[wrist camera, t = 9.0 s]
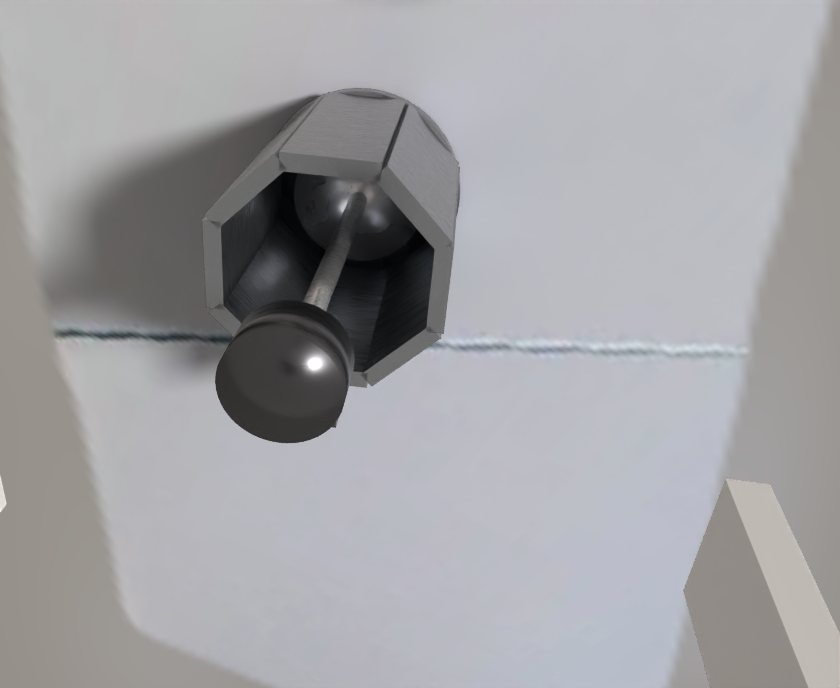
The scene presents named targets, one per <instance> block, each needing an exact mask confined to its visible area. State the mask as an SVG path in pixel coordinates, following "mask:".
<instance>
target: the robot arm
mask: <svg viewBox="0 0 840 688" xmlns="http://www.w3.org/2000/svg"><path fill="white" fill-rule="evenodd" d="M5 505H6V499H5V495H4V490H3V486H2V481H1V476H0V512H1V511H2V509H3V508H4V507H5ZM683 591H684V595H685V598H686V602H687V606H688V609H689V613H690V616H691V620H692V624H693V627H694V631H695V635H696V638H697V642H698V645H699V649H700V653H701V656H702V660H703V664H704V667H705V671H706V675H707V678H708V681H709V685H710V688H840V634H839V632H838V629H837V627H836V625H835V623H834V621H833V619H832V617H831V614H830V613H829V610H828V608H827V606H826V604H825V602H824V599H823V597H822V595H821V593H820V591H819V589H818V587H817V584H816V582H815V580H814V578H813V576H812V574H811V572H810V570H809V568H808V565H807V563H806V561H805V559H804V557H803V555H802V552H801V550H800V548H799V546H798V544H797V542H796V540H795V537H794V536H793V533H792V531H791V529H790V527H789V525H788V523H787V521H786V518H785V516H784V514H783V512H782V510H781V508H780V505H779V503H778V501H777V499H776V497H775V495H774V493H773V490H772V488H771V486H770V484H762V483H754V482H746V481H738V480H730V479H725V482H724V484H723V487H722V490H721V492H720V495H719V498H718V500H717V503H716V506H715V508H714V511H713V514H712V516H711V519H710V521H709V524H708V527H707V529H706V532H705V535H704V537H703V540H702V543H701V545H700V548H699V551H698V553H697V556H696V559H695V561H694V564H693V567H692V569H691V572H690V574H689V577H688V580H687V582H686V585H685V588H684V590H683Z"/></svg>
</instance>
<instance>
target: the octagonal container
mask: <svg viewBox="0 0 840 688" xmlns="http://www.w3.org/2000/svg"><path fill="white" fill-rule="evenodd" d="M458 164H459V162H458V161H457V160H456V158H455V156H454V153H453V150H452V148H451V146H450V144H449V142H448V140H447V138H446V137H445V135H444V134H443V132H442V131H441V129H440V128H439V127H438V125H437V124H436V123H435V122H434V121H433V120H432V119H431V118H430V117H429V116H428V115H427V114H426V113H425V112H423V111H422V110H421V109H420V108H418V107H417V106H415V105H414V104H412V103H411V102H409V101H407V100H405V99H403V98H401V97H399V96H397V95H394V94H391V93H388V92H385V91H380V90H375V89H367V88H352V89H343V90H338V91H334V92H328V93H327V94H323V95H321V96H320V97H318V98H316V99H314V100H313V101H311V102H309V103H307V104H306V105H305V106H303V107H302V108H301V109H300V110H298V111H297V112H296V113H295V114H294V115H293V116H292V117H291V118H290V119H289V120H288V122H287V123H286V124H285V125H284V126H283V128H282V129H281V131H280V132H279V133H278V135H277V136H276V137H275V138H274V139H272V140H271V141H270V142H269V143H268V144H267V145H266V147H265V148H264V149H263V150H262V151H261V152H260V153H259V154H258V155H257V157H256V158H255V159H254V160H253V161H252V162H251V163H250V164H249V165H248V167H247V168H246V169H245V170H244V171H243V172H242V173H241V174H240V175H239V177H238V178H237V179H236V180H235V181H234V182H233V183H232V184H231V185H230V187H229V188H228V189H227V190H226V191H225V192H224V193H223V194H222V195H221V197H220V198H219V199H218V200H217V201H216V202H215V203H214V204H213V205H212V207H211V208H210V209H209V210H208V211H207V212H206V213H205V214H204V215H205V217H204V218H203V219H202V229H203V250H204V272H205V294H206V308H211V309H210V311H209V312H208V313H209V314H210V315H211V316H213V317H214V318H215V319H216V320H217V321H218V322H219V323H220V324H221V325H222V326H223V327H224V328H225V329H226V330H227V331H228V332H229V333H230V334H231V335H232V336H233V337H234V335H235V334H236V332H237V330H238V328H239V327H240V325H241V323H242V322H243V320H244V319H245V318H246V317H247V316H248V315H249V314H250V313H251V312H252V311H254V310H255V309H257V308H258V307H260V306H262V305H264V304H267V303H270V302H275V301H280V300H296V301H302V302H303V301H304V298H305V296H306V294H307V292H308V290H309V287H310V285H311V283H312V281H313V278H314V276H315V274H316V272H317V269H318V267H319V265H320V263H321V261H322V258H323V256H324V254H325V252H326V250H325V249H323V248H322V247H321V246H319V245H318V244H317V243H316V242H315V241H314V240H313V239H312V238H311V237H310V236H309V235H308V233H307V232H306V231H305V229H304V227H303V226H302V224H301V222H300V220H299V218H298V215H297V212H296V208H295V202H294V188H295V182H296V177H297V175H298V173H303V174H313V175H322V176H331V177H340V178H350V179H359V180H368V181H376V182H377V183H378V184H379V186H380V187H381V188H382V189H383V190H384V191H385V192H386V194H387V195H388V196H389V197H390V198H391V199H392V201H393V202H394V203H395V204H396V205H397V206H398V208H399V209H400V210H401V211H402V212H403V213H404V214H405V216H406V217H407V218H408V219H409V220H410V221H411V223H412V224H413V225H414V226H415V227H416V228H417V229H416V231H415V232H414V234H413V235H412V237H411V238H410V239H409V240H408V241H407V243H406V244H404V245H403V246H402V247H401V248H400V249H398V250H397V251H395V252H394V253H392V254H390V255H388V256H385V257H382V258H379V259H375V260H367V261H357V260H350V259H346V260H345V262H344V265H343V268H342V270H341V273H340V276H339V278H338V281H337V283H336V286H335V289H334V291H333V294H332V297H331V299H330V302H329V304H328V307H327V310H326V312H328V313H329V314H331V315H332V316H333V317H334V318H335V319H336V320H338V321H339V322H340V324H341V325H342V326H343V327H344V329H345V330H346V332H347V333H348V335H349V337H350V339H351V342H352V345H353V348H354V354H355V363H354V369H353V373H352V376H351V380H350V384H349V386H356V387H365V388H367V384H368V383H369V384H370V385H371V386H373V385H375V384H376V383H377V382H379V381H380V380H382V379H383V378H385V377H386V376H387V375H389V374H390V373H392V372H393V371H395V370H396V369H397V368H399V367H400V366H402V365H403V364H405V363H406V362H408V361H409V360H410V359H412V358H413V357H415V356H416V355H418V354H419V353H420V352H422V351H423V350H425V349H426V348H428V347H429V346H431V345H432V344H433V343H435V342H436V341H438V340H439V339H441V334H444V326H445V318H446V309H447V301H448V293H449V284H450V276H451V267H452V259H453V251H454V239H455V226H456V216H457V212H458V207H459V198H460V178H459V171H460V167H458ZM337 421H338V419H337ZM337 421H336V422H335V423H334V424H333V426H332V427H335V428H336V425H337Z"/></svg>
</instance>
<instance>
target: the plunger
mask: <svg viewBox="0 0 840 688" xmlns="http://www.w3.org/2000/svg"><path fill="white" fill-rule="evenodd" d="M294 202H295V208H296V212H297V215H298V218H299V220H300V222H301V224H302V226H303V227H304V229H305V231H306V232H307V233H308V235H309V236H310V237H311V238H312V239H313V240H314V241H315V242H316V243H317V244H318V245H319V246H321V247H322V248H323V249H325V250H326V252H325V254H324V256H323V258H322V261H321V263H320V265H319V267H318V269H317V272H316V274H315V276H314V278H313V281H312V283H311V285H310V287H309V290H308V292H307V294H306V296H305V298H304V301H303V302H302V301H296V300H280V301H275V302H270V303H267V304H264V305H262V306H260V307H258V308H257V309H255V310H254V311H252V312H251V313H250V314H249V315H248V316H247V317H246V318H245V319H244V320H243V322H242V323H241V325H240V327H239V328H238V330H237V332H236V334H235V335H234V337H233V339H232V341H231V342H230V344H229V346H228V348H227V349H226V351H225V353H224V355H223V356H222V358H221V360H220V362H219V364H218V367H217V371H216V379H215V384H216V391H217V395H218V398H219V400H220V403H221V405H222V406H223V408H224V410H225V411H226V413H227V414H228V415H229V416H230V418H231V419H232V420H233V421H234V422H235V423H236V424H238V425H239V426H240V427H241V428H243V429H244V430H246V431H247V432H249V433H251V434H253V435H255V436H257V437H259V438H262V439H265V440H269V441H273V442H279V443H298V442H304V441H307V440H311V439H313V438H315V437H318V436H320V435H321V434H323V433H325V432H326V431H327V430H328V429H330V428H331V427H332V426H333V424H334V423H335V422H336V421H337V419H338V418H339V416H340V414H341V412H342V409H343V406H344V402H345V398H346V395H347V391H348V387H349V384H350V380H351V376H352V373H353V369H354V363H355V354H354V348H353V345H352V342H351V339H350V337H349V335H348V333H347V332H346V330H345V329H344V327H343V326H342V325H341V324H340V322H339V321H338V320H336V319H335V318H334V317H333V316H332V315H331V314H329V313H328V312H326V310H327V307H328V304H329V302H330V299H331V297H332V294H333V291H334V289H335V286H336V283H337V281H338V278H339V276H340V273H341V270H342V268H343V265H344V262H345V260H346V259H350V260H357V261H367V260H375V259H379V258H382V257H385V256H388V255H390V254H392V253H394V252H395V251H397V250H398V249H400V248H401V247H402V246H403V245H404V244H406V243H407V241H408V240H409V239H410V238H411V237H412V235H413V234H414V232H415V231H416V229H417V228H416V227H415V226H414V225H413V224H412V223H411V221H410V220H409V219H408V218H407V217H406V216H405V214H404V213H403V212H402V211H401V210H400V209H399V208H398V206H397V205H396V204H395V203H394V202H393V201H392V199H391V198H390V197H389V196H388V195H387V194H386V192H385V191H384V190H383V189H382V188H381V187H380V186H379V184H378V183H377V182H376V181H368V180H359V179H350V178H340V177H331V176H322V175H313V174H303V173H298V175H297V177H296V182H295V188H294Z"/></svg>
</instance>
